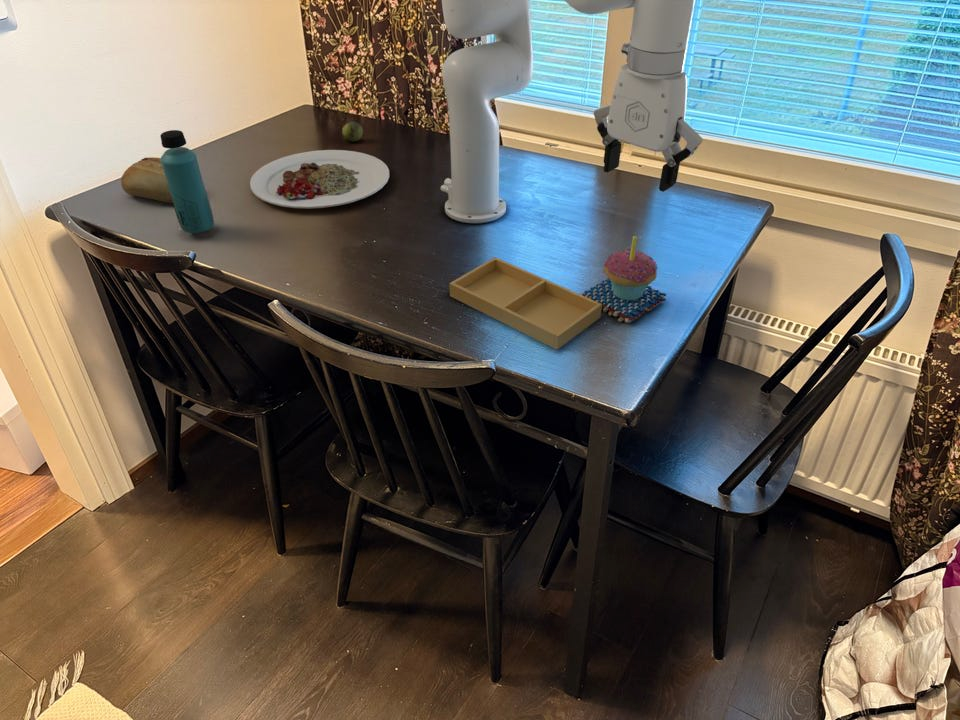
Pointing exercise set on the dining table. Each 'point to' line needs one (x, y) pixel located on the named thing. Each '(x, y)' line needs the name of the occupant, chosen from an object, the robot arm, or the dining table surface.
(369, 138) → the dining table surface
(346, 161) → the plated food
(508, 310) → the divided tray
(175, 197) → the beverage bottle
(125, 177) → the bread roll
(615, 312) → the woven mat
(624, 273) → the cupcake
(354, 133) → the lime
